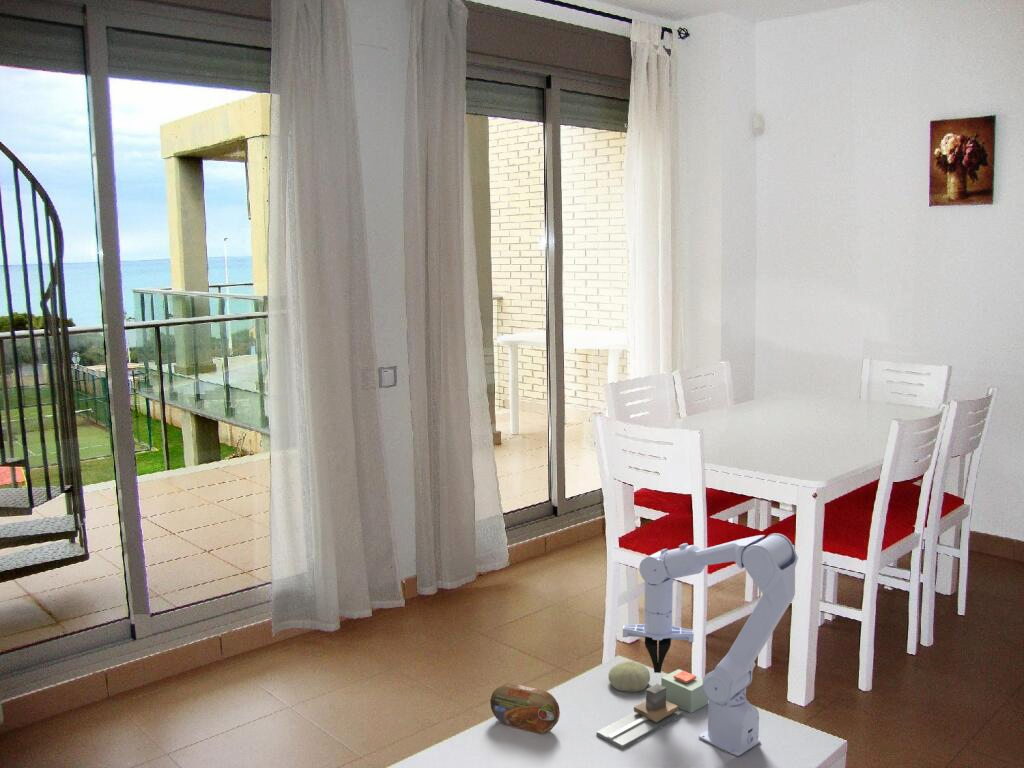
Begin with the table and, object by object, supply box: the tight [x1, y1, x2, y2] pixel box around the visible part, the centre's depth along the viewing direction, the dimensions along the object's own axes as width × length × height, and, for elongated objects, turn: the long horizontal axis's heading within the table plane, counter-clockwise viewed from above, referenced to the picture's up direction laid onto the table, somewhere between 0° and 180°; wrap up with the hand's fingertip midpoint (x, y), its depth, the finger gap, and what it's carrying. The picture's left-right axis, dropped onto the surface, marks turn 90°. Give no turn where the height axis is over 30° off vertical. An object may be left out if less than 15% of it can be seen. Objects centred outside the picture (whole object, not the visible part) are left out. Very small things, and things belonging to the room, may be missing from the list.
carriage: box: [633, 683, 679, 722], centre depth 190 cm, size 6×7×5 cm
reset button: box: [674, 670, 697, 684], centre depth 196 cm, size 3×3×2 cm
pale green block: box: [660, 668, 709, 714], centre depth 196 cm, size 8×6×5 cm
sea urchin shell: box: [607, 660, 651, 693], centre depth 204 cm, size 9×8×8 cm
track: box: [596, 709, 684, 750], centre depth 187 cm, size 7×19×1 cm, turn 132°
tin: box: [490, 682, 561, 735], centre depth 187 cm, size 15×3×8 cm, turn 62°
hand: (657, 670), depth 191 cm, fingers closed
